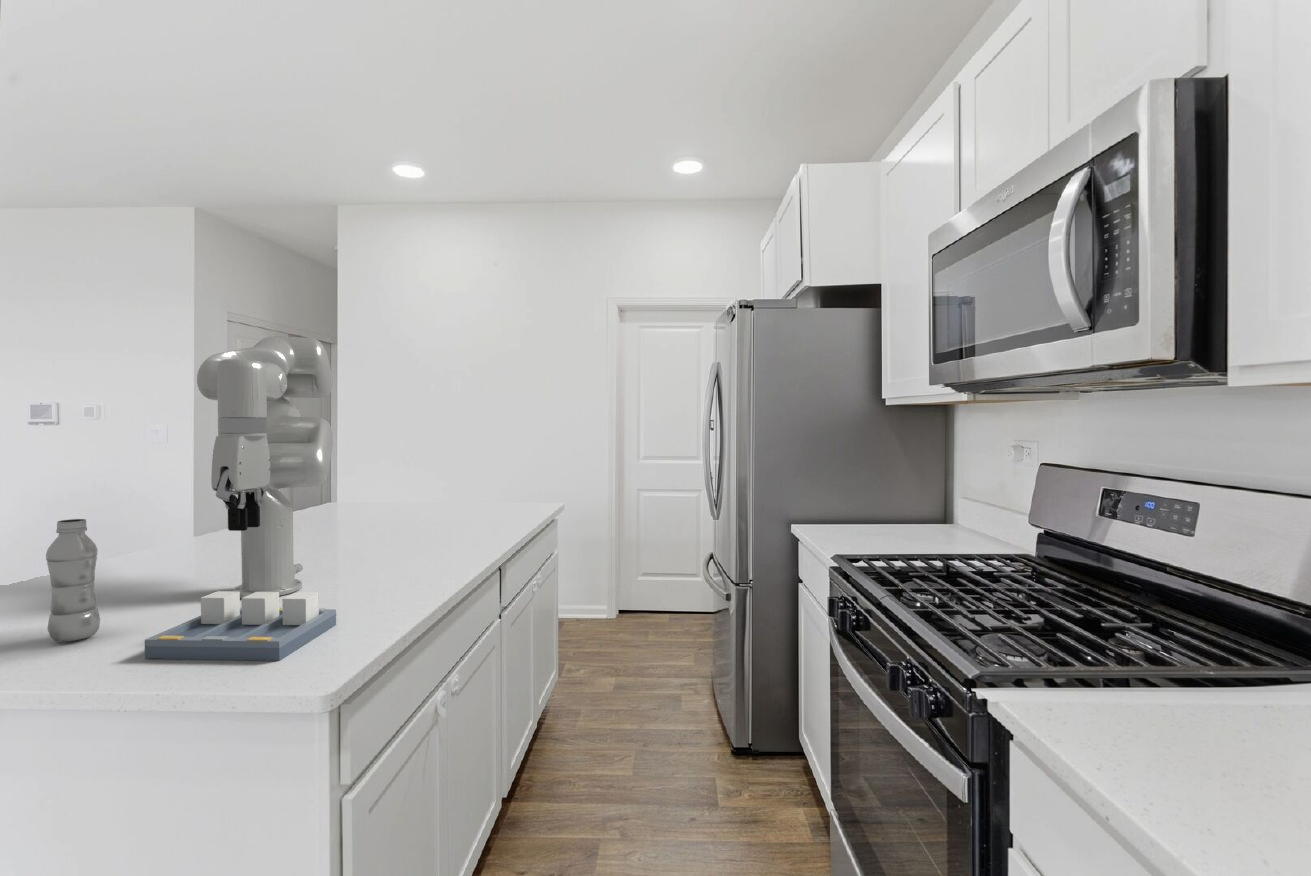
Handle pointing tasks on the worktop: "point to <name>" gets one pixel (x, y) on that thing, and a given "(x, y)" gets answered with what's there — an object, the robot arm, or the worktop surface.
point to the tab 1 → (220, 607)
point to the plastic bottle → (72, 583)
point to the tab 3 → (300, 607)
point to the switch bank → (237, 639)
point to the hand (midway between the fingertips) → (244, 527)
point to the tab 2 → (260, 608)
